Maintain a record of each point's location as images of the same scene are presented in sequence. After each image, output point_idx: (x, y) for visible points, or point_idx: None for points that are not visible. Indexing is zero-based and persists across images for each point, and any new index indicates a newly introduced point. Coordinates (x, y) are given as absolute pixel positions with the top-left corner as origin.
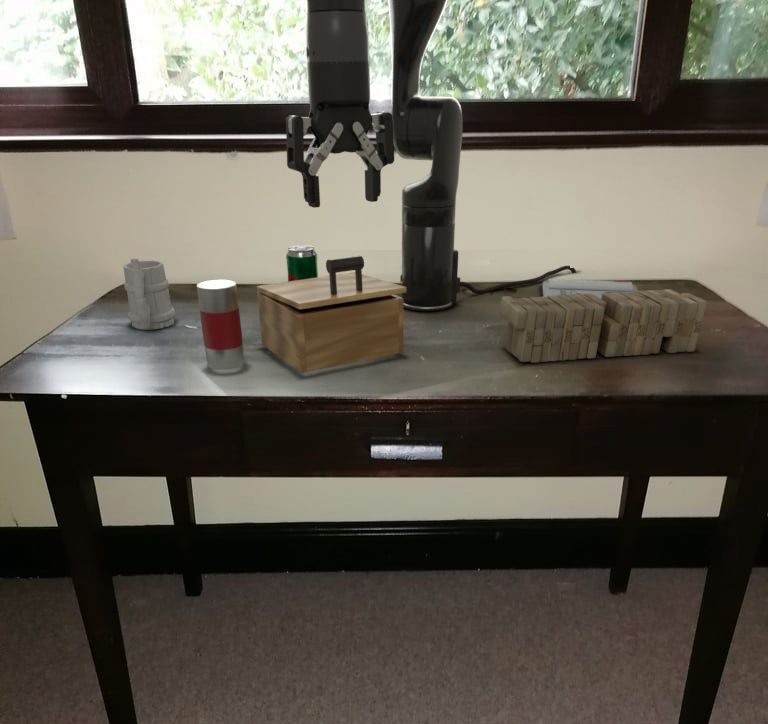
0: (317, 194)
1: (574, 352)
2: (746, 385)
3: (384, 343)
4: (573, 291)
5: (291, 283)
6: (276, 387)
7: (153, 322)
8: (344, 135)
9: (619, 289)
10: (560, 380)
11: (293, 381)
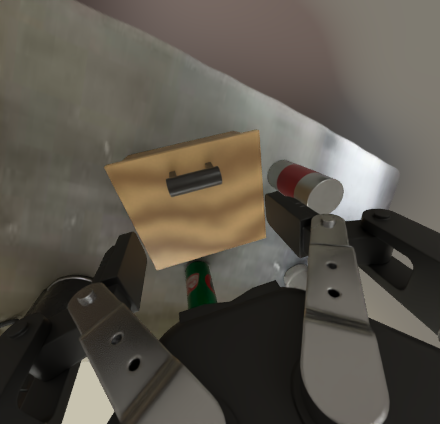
0: (281, 200)
1: None
2: None
3: (147, 153)
4: None
5: (234, 237)
6: (258, 115)
7: (302, 267)
8: (254, 366)
9: None
10: None
11: (242, 125)
